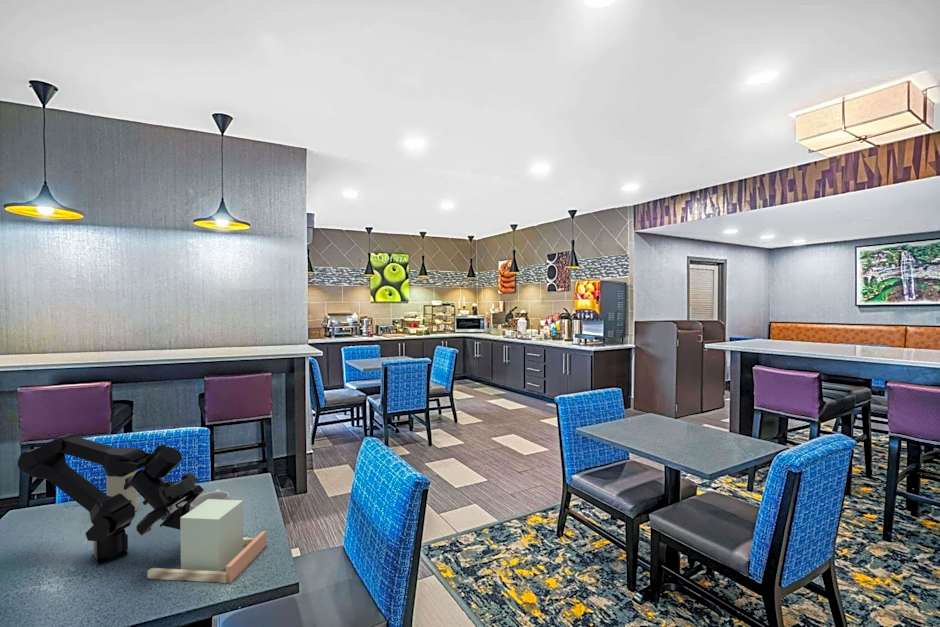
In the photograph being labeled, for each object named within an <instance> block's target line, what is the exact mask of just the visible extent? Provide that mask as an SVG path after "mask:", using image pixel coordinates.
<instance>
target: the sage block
mask: <svg viewBox="0 0 940 627" xmlns="http://www.w3.org/2000/svg"><path fill="white" fill-rule="evenodd" d="M179 531H180V569H183V570H203V571H223V572H224V570H226V566H227V565H228V564H229V563H230V562H231V561H232V560H233V559H234V558H235V557H236V556H237V555H238V554H239V553H240V552H241V551H242V550H243V549H244V547H243V537H244V500H240V499H239V500H238V499H237V500H235V499H229V500H219V499H207V500H206V501H204V502H203V503H201V504H200V505H198V506H197V507H196V508H194V509H193V510H191V511H190V512H188V513H187V514H185V515H184V516H182V517H181V518H180V530H179Z"/></svg>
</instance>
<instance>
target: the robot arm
mask: <svg viewBox="0 0 940 627" xmlns="http://www.w3.org/2000/svg"><path fill="white" fill-rule="evenodd" d="M66 455H67V456H71V457H73V458H78V459H81V460H85V461H87V462H91V463H94V464H98V465H100V466H102V467H103V469H104V470H105V472H106V471H107V472H109V473H111V474H113V475H115V476H117V477H123V476H126V475H128V474H130V473H132V472H134V471H137V472H136V473H135V474H134V475H133V476H130V477H128V478H126V479H125V484H124V490H126V489H128V488H130V487H132V486H133V487H134V488H135V489H136V491H137V494H138V495H140V496H141V497H142V498H143V499H144V500H143V501H142V505H144V506H146V505H149V506H150V507H151V508H152V509H153V510H151V511H150V512H148V513H147V514H146V515H145V516H144V517H143V518H142V519H141V520H140V521H139V522H138V523H137V524H136V532H137V533H138V534H139V535H140V536H141V537H142V536H144V535H145V534H147V533H149V532H150V531H151V530H152V526H154V524H155V523H157V522H158V521H161V523H160V524H159V527H161V528H162V527H166V528H172V529H175V530H178V531H180V518H181V517H182V516H184V515H185V514H187V513H188V512H190V504H191V503H192V502H193V501H194V500H195V499H196V498H197V497H198V496H199V495H202V494H203V492H204V490H205V489H204V488H203V487H202V486H201V485H199V484H195V483H196V482H197V477H196V476H195V475H194V474H193V473H191V472H188V473H186V474H184V475H181V477H180V478H181V480H179V481H177V482H176V483H174V482H173V481H171V480H168V481H165V480H164V479H163V478H166V477H167V476H168V475H169V474H170V473H171V472H172V471H173V470H174V469H175V468H176V467H177V466H178V465H179V463H181V462H182V460H183V455H182V453H181V452H180V450H178V449H176V448H174V447H171V446H166V444H164V443H162V444H160V445H157V446H156V448H155V449H154V450H153V452H152V453H151V452H147V451H144V450H143V449H141V448H136V447H128V446H125V447H123V446H122V447H113V446H110V445H107V444H103V443H99V442H96V441H93V440H90V439H88V438H87V439H86V438H83V437H80V436H78V435H77V434H74V433H68V434H65V435H62V436H59V437H58V436H57V437H55V438H54V439H52V440H51V441H49V442H47V443H46V444H43V445H41V446H38V447H36V448H34V449H33V448H32V449H30V450H26V451H24V452H22V453H20V455H19V457H18V461H17V467H18V469H19V470H20V471H21V472H22V473H24V474H26V475H28V476H29V477H32V478H36V479H44V480H47V481H49V482H50V483H51V484H52V485H54V486H55V487H56V488H58V489H59V490H61V491H62V492H63V493H64V494H65V495H67V496H68V497H69V498H71V499H72V500H73V501H75V502H76V503H77V504H78V505H80V506H81V507H83V508H84V509H85V510H86V511H87V512H88V513H89V516H90V517H89V518H90V522H91V524H92V526H90V527H89V529H88V530H87V531H86V532H85V536H86V539H87V541H89V542H93V554H91V558H92V559H93V560H94V562H95V563H96V564H97V565H102V564H105V563H108V562H111V561H114V560H117V559H119V558H121V557H125V556H128V554H129V552H128V551H127V550H128V549H129V535H128V534H127V533H126V530H125V529H126V528H128V527H130V526H131V524H132V521H133V520H134V519H135V516H136V511H135V507H134V505H133V504H131V502H132V501H131V500H128V499H127V498H125V497H124V495H122V494H120V493H119V494H117V495H115V496H113V497H112V496H107V494H106V493H105V492H103V491H102V490H101V489H99V488H98V487H97V486H95V485H94V484H93V483H92V482H90V481H89V480H88V479H86V478H85V477H84V476H83V475H81V474H80V473H78V472H77V471H76V470H75V469H73V468H72V467H71V466H69V464H67V459H66ZM142 468H143V469H142Z"/></svg>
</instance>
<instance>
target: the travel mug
mask: <svg viewBox="0 0 940 627" xmlns="http://www.w3.org/2000/svg"><path fill="white" fill-rule="evenodd" d="M137 471H138V470H137ZM137 471H134V472H132V473H130V474H128V475H126V476H123V477H117V476H115V475H113V474H111V473H109V472H107V471H106V470H105V475H106V476H105V478H106V479H105V482H106V484H105V485H106V493H105V494H106V495H107V496H112V497H113V496H115V495H117V494H119V493H120V494H122V495H124V497H125V498H127V499H128V500H131V501H132V502H131V504H133V505H134V507H135V512H136V511H137V510H139V509H138V508H139V507H138V506H139V505H138V504H139V503H138V500H139V499H138V496H139V494H138V492H137V491H136V489H135V488H134V487H133V486H132V487H130V488H128V489H126V490H124V484H125V479H126V478H128V477H130V476H133V475H134V474H135V473H136V472H137Z"/></svg>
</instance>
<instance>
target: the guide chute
mask: <svg viewBox="0 0 940 627" xmlns="http://www.w3.org/2000/svg"><path fill="white" fill-rule="evenodd" d="M266 547H267V531H265V530H262V531H260V533H259V534H258V535H257V536H256V537H244V536H243V550H242V551H241V552H240V553H239V554H238V555H237V556H236V557H235V558H234V559H233V560H232V561H231V562H230V563H229V564H228V565H227V566H226V568H225V571H224V570H223V571H203V570H183V569H181V568H180V569H179V568H161V567H151V568H149V569H148V570H147V579H148V578H149V580H165V581H166V580H167V581H183V580H187V581H188V582H206V583H207V582H208V583H223V584H224V583H225V584H226V583H228V584H231V583H233V581H234V580H235V579H236V578H237V577H238V576H239V575H240V574H241V573H242V571H243V570H245V568H246V567H247V566H249V564H250V563H251V562H252V561H253V560H254V559H255V558H256V557H257V556H258V555H259V554H260V553H261V552H262V551H263V550H264V549H265V548H266ZM187 581H186V582H187Z"/></svg>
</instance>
